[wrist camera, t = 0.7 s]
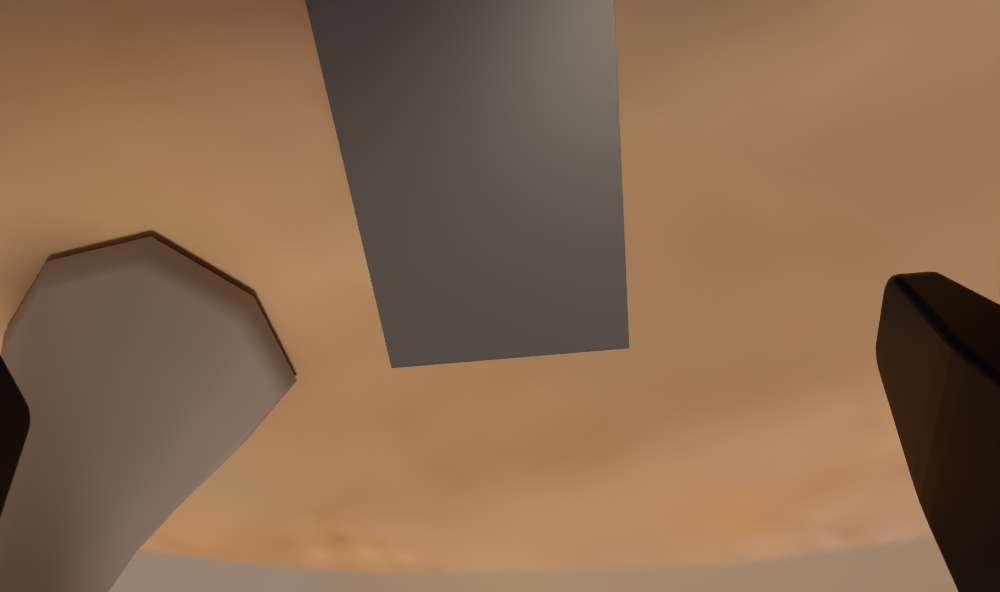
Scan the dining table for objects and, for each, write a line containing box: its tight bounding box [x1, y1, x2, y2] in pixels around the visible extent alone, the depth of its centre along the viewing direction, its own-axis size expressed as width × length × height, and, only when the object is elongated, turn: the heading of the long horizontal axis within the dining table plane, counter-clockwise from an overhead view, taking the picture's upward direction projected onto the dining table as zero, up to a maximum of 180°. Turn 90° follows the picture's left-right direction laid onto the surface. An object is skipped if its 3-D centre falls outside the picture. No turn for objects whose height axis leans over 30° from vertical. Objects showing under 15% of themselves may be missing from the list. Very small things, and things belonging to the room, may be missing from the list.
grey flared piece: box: [0, 236, 297, 592], centre depth 20 cm, size 7×7×10 cm
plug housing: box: [305, 0, 629, 368], centre depth 16 cm, size 4×9×6 cm, turn 7°
